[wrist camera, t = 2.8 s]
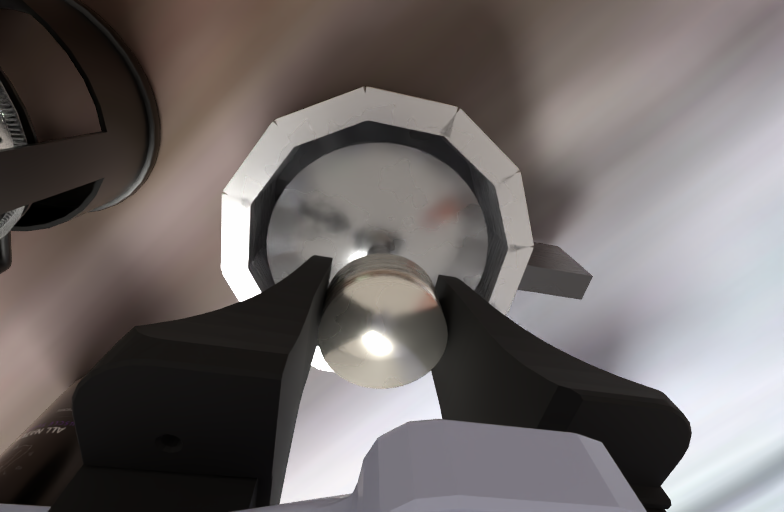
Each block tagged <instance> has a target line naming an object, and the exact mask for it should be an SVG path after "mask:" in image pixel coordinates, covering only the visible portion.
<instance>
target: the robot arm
mask: <svg viewBox="0 0 784 512" xmlns="http://www.w3.org/2000/svg"><path fill="white" fill-rule="evenodd" d="M332 260H333V258H331V257H325V256H318V255H313V256H312V257H310V258H309V259H308V260H307V261H306V262H304V263H303V264H302V265H301V266H300V267H298V268H297V269H296V270H295V271H293V272H292V273H291V274H289V275H288V276H287V277H285V278H284V279H283V280H281V281H279V282H278V283H276V284H275V285H273V286H272V287H270V288H268V289H267V290H265V291H263V292H261V293H259V294H257V295H255V296H253V297H250V298H248V299H246V300H244V301H241V302H238V303H235V304H233V305H230V306H227V307H224V308H222V309H219V310H215V311H212V312H208V313H205V314H201V315H197V316H193V317H189V318H184V319H179V320H174V321H168V322H161V323H155V324H149V325H143V326H135V327H134V328H133V329H132V330H131V331H130V332H128V333H127V334H126V335H125V336H124V337H123V338H122V339H121V340H120V341H118V342H117V343H116V344H115V345H114V346H113V348H112V349H111V350H110V351H109V352H108V353H107V354H106V355H105V356H104V357H103V358H102V359H101V360H100V361H99V362H98V363H97V364H96V365H95V366H94V367H93V368H92V369H91V370H90V371H89V372H88V374H87V375H86V376H85V377H84V378H83V379H82V380H81V381H80V382H79V383H78V384H77V387H76V389H75V391H74V394H73V396H72V415H73V420H74V425H75V429H76V434H77V438H78V443H79V448H80V452H81V457H82V462H83V465H82V467H81V468H80V469H79V471H78V472H77V473H76V475H75V476H74V477H73V479H72V480H71V481H70V483H69V484H68V485H67V487H66V488H65V489H64V490H63V492H62V493H61V494H60V496H59V497H58V498H57V500H56V501H55V502H54V504H53V505H52V506H51V507H48V506H32V505H15V504H0V512H666V511H665V509H669V507H670V506H671V500H670V499H669V497H668V496H667V495H666V493H665V492H664V490H663V489H662V488H661V485H662V483H663V482H664V481H665V479H666V478H667V477H668V476H669V474H670V473H671V472H672V470H673V469H674V468H675V467H676V465H677V464H678V463H679V461H680V460H681V459H682V457H683V456H684V454H685V452H686V451H687V449H688V447H689V443H690V439H691V434H692V432H691V427H690V422H689V421H688V419H687V418H686V417H685V415H684V414H683V413H682V412H681V411H680V410H679V409H678V408H677V406H676V405H675V404H674V403H673V402H672V401H671V400H670V399H669V398H668V397H667V396H666V395H665V394H664V393H663V392H661V391H659V390H656V389H653V388H650V387H647V386H644V385H642V384H639V383H636V382H633V381H630V380H627V379H624V378H622V377H619V376H616V375H614V374H611V373H609V372H606V371H604V370H602V369H599V368H597V367H595V366H592V365H590V364H588V363H585V362H583V361H581V360H579V359H577V358H575V357H573V356H571V355H569V354H567V353H565V352H563V351H561V350H559V349H557V348H555V347H553V346H551V345H550V344H548V343H546V342H544V341H543V340H541V339H539V338H538V337H536V336H534V335H533V334H531V333H530V332H528V331H526V330H525V329H523V328H522V327H520V326H519V325H517V324H516V323H514V322H513V321H512V320H510V319H509V318H508V317H506V316H505V315H504V314H502V313H501V312H500V311H498V310H497V309H496V308H494V307H493V306H492V305H491V304H490V303H488V302H487V301H486V300H485V299H483V298H482V297H481V296H480V295H479V294H477V293H476V292H475V291H474V290H473V289H471V288H470V287H469V286H468V285H466V284H465V283H464V282H463V281H461V280H460V279H458V278H457V277H452V276H445V275H438V278H437V282H436V285H435V289H436V292H437V296H438V299H439V302H440V305H441V308H442V311H443V314H444V318H445V321H446V325H447V331H448V338H447V344H446V348H445V351H444V353H443V355H442V357H441V359H440V360H439V362H438V363H437V364H436V365H435V367H434V368H433V369H432V370H431V371H432V376H433V380H434V384H435V388H436V392H437V396H438V400H439V404H440V409H441V414H442V419H433V420H421V421H410V422H407V423H405V424H403V425H401V426H399V427H397V428H395V429H393V430H391V431H389V432H387V433H385V434H383V435H382V436H380V437H378V438H377V440H376V441H375V443H374V444H373V446H372V447H371V449H370V450H369V452H368V453H367V455H366V456H365V458H364V460H363V464H362V468H361V472H360V475H359V479H358V483H357V485H356V487H355V490H354V492H353V493H352V494H346V495H339V496H332V497H326V498H319V499H312V500H306V501H299V502H292V503H286V504H279V503H280V498H281V493H282V488H283V483H284V478H285V473H286V468H287V463H288V458H289V453H290V448H291V443H292V438H293V433H294V428H295V423H296V419H297V414H298V409H299V404H300V400H301V397H302V393H303V389H304V386H305V383H306V380H307V377H308V373H309V370H310V367H311V364H312V361H313V358H314V354H315V351H316V348H317V345H318V332H319V327H320V322H321V317H322V312H323V307H324V303H325V298H326V294H327V289H328V287H329V280H330V274H331V267H332Z"/></svg>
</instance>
